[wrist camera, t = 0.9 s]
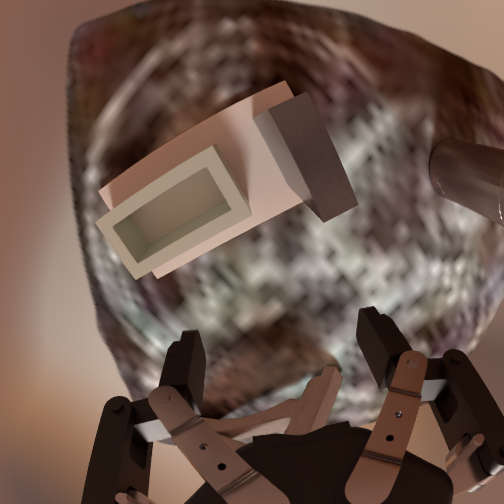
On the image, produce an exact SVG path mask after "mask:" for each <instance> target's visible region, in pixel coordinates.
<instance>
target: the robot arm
mask: <svg viewBox="0 0 504 504" xmlns="http://www.w3.org/2000/svg"><path fill="white" fill-rule="evenodd" d="M429 170H430V179H431V182H432V185H433V187H434V189H435V191H436V192H437V193H438V194H439V195H441V196H442V197H444V198H447V199H449V200H451V201H453V202H455V203H458V204H460V205H462V206H464V207H466V208H468V209H470V210H472V211H474V212H476V213H478V214H480V215H482V216H484V217H486V218H488V219H490V220H492V221H494V222H496V223H498V224H500V225H502V226H503V227H504V150H503V149H499V148H495V147H490V146H486V145H481V144H476V143H471V142H465V141H459V140H453V139H446V140H444V141H442V142H440V143H439V144H438V145H437V146H436V148H435V149H434V151H433V153H432V156H431V160H430V167H429ZM356 337H357V342H358V344H359V347H360V349H361V351H362V353H363V355H364V357H365V359H366V361H367V363H368V365H369V367H370V370H371V372H372V374H373V376H374V378H375V380H376V383H377V385H378V387H379V389H383V388H388V390H389V391H388V394H387V397H386V399H385V402H384V404H383V407H382V410H381V412H380V414H379V417H378V419H377V422H376V425H375V426H374V429H373V431H371V430H369V429H365V428H361V427H350V424H349V421H345V422H341V423H336V424H331V425H327V426H324V427H322V428H319V429H317V430H314V431H312V432H309V433H307V434H304V435H289V434H268V435H259V436H252V437H253V442H252V443H249V444H246V445H244V446H242V447H240V448H238V449H237V450H235V451H234V450H233V449H232V448H231V447H230V446H229V445H228V444H227V443H226V442H225V441H224V440H223V439H222V438H221V437H220V436H219V435H218V434H217V433H216V432H215V430H214V429H213V428H212V427H211V426H210V425H209V424H208V423H207V422H206V421H205V420H204V419H203V418H202V417H199V416H198V415H201V409H202V398H203V388H204V378H205V369H206V355H205V351H204V347H203V344H202V341H201V337H200V334H199V331H198V330H187V331H183V332H182V335H181V340H180V341H174V342H173V343H172V344H171V346H170V347H169V348H168V351H167V354H166V358H165V362H164V363H165V364H164V366H163V370H162V374H161V378H160V382H159V386H158V387H157V388H155V389H154V390H153V391H152V392H151V393H150V394H149V397H148V398H146V399H142V400H138V401H134V402H130V400H129V399H128V398H126V397H123V396H116V397H113V398H111V399H110V400H108V401H107V403H106V404H105V406H104V409H103V412H102V416H101V419H100V423H99V426H98V430H97V434H96V438H95V442H94V446H93V450H92V454H91V458H90V462H89V467H88V471H87V476H86V481H85V486H84V491H83V496H82V502H81V504H156V503H154V502H153V501H152V500H150V499H149V498H148V489H149V477H150V467H151V457H152V448H153V441H157V440H161V439H165V438H169V437H171V438H172V440H173V441H174V442H175V444H176V445H177V446H178V448H179V449H180V450H181V452H182V453H183V454H184V456H185V457H186V458H187V459H188V460H189V462H190V463H191V464H192V466H193V467H194V468H195V469H196V471H197V472H198V473H199V474H200V475H201V476H202V478H203V479H204V480H205V481H206V482H205V483H204V484H203V485H202V486H201V487H200V488H199V489H198V490H197V491H196V492H195V493H194V494H193V495H192V496H191V497H190V498H189V499H188V500H187V501H186V502H185V503H184V504H452V500H453V498H455V497H457V496H459V495H461V494H463V493H465V492H467V491H468V492H475V491H478V490H479V489H481V488H482V487H483V486H485V485H486V484H487V483H489V482H490V481H491V480H493V479H494V478H495V477H497V476H498V475H499V474H500V473H501V472H502V471H504V416H503V414H502V412H501V411H500V409H499V407H498V406H497V404H496V402H495V400H494V398H493V397H492V395H491V393H490V392H489V390H488V388H487V387H486V385H485V384H484V382H483V380H482V379H481V377H480V376H479V374H478V372H477V371H476V369H475V368H474V366H473V365H472V363H471V362H470V360H469V359H468V357H467V356H466V355H465V354H464V353H463V352H462V351H460V350H456V349H451V350H448V351H446V352H445V353H444V355H443V357H442V358H432V359H429V358H426V356H425V355H424V354H422V353H421V352H419V351H414V350H412V348H411V346H410V345H409V343H408V342H407V340H406V339H405V337H404V336H403V334H402V333H401V332H400V330H399V328H398V327H397V326H396V324H395V323H394V321H393V320H392V319H391V318H390V317H388V316H387V315H385V314H381V315H380V314H379V312H378V311H377V309H376V308H375V307H374V306H371V307H366V308H361V309H359V313H358V322H357V330H356ZM421 401H428V402H429V404H430V406H431V409H432V411H433V413H434V415H435V418H436V420H437V422H438V425H439V427H440V429H441V432H442V434H443V436H444V438H445V441H446V444H447V446H448V449H449V451H450V452H449V453H448V455H447V457H446V472H445V471H444V470H443V469H441V468H439V467H437V466H435V465H433V464H431V463H429V462H427V461H425V460H423V459H422V458H420V457H418V456H416V455H414V454H412V453H410V452H409V451H407V450H406V448H407V445H408V442H409V439H410V436H411V433H412V430H413V427H414V423H415V420H416V417H417V413H418V410H419V406H420V402H421Z"/></svg>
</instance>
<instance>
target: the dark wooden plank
mask: <svg viewBox="0 0 504 504" xmlns="http://www.w3.org/2000/svg"><path fill="white" fill-rule="evenodd" d="M253 121H254V122H255V124H256V126H257V128H258V130H259V131H260V133H261V135H262V137H263V139H264V141H265V142H266V144H267V146H268V148H269V150H270V152H271V154H272V155H273V157H274V159H275V161H276V163H277V165H278V167H279V169H280V171H281V173H282V175H283V177H284V179H285V181H286V182H287V184H288V186H289V187H290V188H291V189H292V190H293V191H294V192H295V193H296V194H297V195H298V196H299V197H300V198H301V199H302V200H303V201H304V203H305V204H306V205H307V206H308V207H309V208H310V209H311V210H312V211H313V212H314V213H315V214H316V215H317V216H318V217H319V218H320V219H321V220H322V221H323V222H326V221H328V220H330V219H332V218H334V217H336V216H338V215H340V214H342V213H344V212H346V211H348V210H349V209H351V208H353V207H355V206H357V205H358V202H357V200H356V197H355V194H354V192H353V189H352V187H351V184H350V182H349V180H348V177H347V175H346V172H345V170H344V168H343V165H342V163H341V161H340V158H339V156H338V154H337V152H336V149H335V147H334V145H333V143H332V141H331V138H330V136H329V134H328V132H327V130H326V128H325V126H324V124H323V122H322V120H321V118H320V116H319V114H318V112H317V110H316V108H315V106H314V104H313V102H312V100H311V98H310V96H309V94H308V92H305V93H302V94H300V95H298V96H296V97H293V98H291V99H289V100H287V101H284V102H282V103H280V104H278V105H276V106H274V107H271V108H269V109H267V110H266V111H264V112H262V113H261V114H259V115H258V116H256V117H255V118H253Z"/></svg>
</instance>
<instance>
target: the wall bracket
mask: <svg viewBox="0 0 504 504" xmlns="http://www.w3.org/2000/svg"><path fill="white" fill-rule="evenodd" d="M342 379H343V377H342V376H341V374H340V372H339V371H338V369H337V367H336V366H324V369H323V371H322V374H321V375H320V376H315V377H313V378H312V379H311V380H310V381H309V382H308V383H307V385H306V388H305V390H304V392H303V395H302V397H301V399H300V400H299V399H292V398H290V399H288V400H286V401H284V402H282V403H280V404H278V405H276V406H274V407H272V408H270V409H267V410H265V411H262V412H259V413H256V414H252V415H249V416H246V417H242V418H235V419H222V420H216V419H210V418H204V417H202V418H203V419H204V420H205V421H206V422H207V423H208V424H209V425H210V426H211V427H212V428H213V429H214V430H215V432H216V433H217V434H218V435H219V436H220V437H221V438H222V439H223V440H224V441H225V442H226V443H227V444H228V445H229V446H230V447H231V448H232V449H233V450H234V451H235V450H237V449H238V448H240V447H242V446H244V445H246V444H245V443H242V442H239V441H236V439H242V438H247V437H252V436H258V435H263V434H269V433H273V432H278V431H283V430H286V431H285V433H284V434H289V435H304V434H307V433H309V432H312V431H314V430H317V429H319V428H322V427H324V426H325V424H326V422H327V419H328V417H329V414H330V412H331V409H332V406H333V404H334V401H335V399H336V396H337V393H338V391H339V388H340V385H341V382H342Z"/></svg>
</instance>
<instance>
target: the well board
mask: <svg viewBox="0 0 504 504" xmlns="http://www.w3.org/2000/svg"><path fill="white" fill-rule="evenodd" d="M293 97H294V96H293V94H292V92H291V90H290V88H289V87H288V85H287V83H286V81H282V82H280V83H278V84H275V85H273V86H271V87H269V88H267V89H264V90H262V91H260V92H258V93H256V94H254V95H252V96H250V97H248V98H246V99H244V100H242V101H240V102H238V103H236V104H234V105H232V106H230V107H228V108H226V109H224V110H222V111H220V112H219V113H217V114H215V115H213V116H211V117H209V118H208V119H206V120H204V121H202V122H201V123H199V124H197V125H195V126H194V127H192V128H190V129H189V130H187V131H185V132H184V133H182V134H180V135H179V136H177V137H175V138H174V139H172V140H171V141H169V142H167V143H166V144H164V145H163V146H161V147H160V148H158V149H157V150H155V151H153V152H152V153H150V154H149V155H147V156H146V157H145V158H143V159H142V160H140V161H139V162H137V163H136V164H134V165H133V166H132V167H130V168H129V169H127V170H126V171H125V172H123V173H122V174H120V175H119V176H118V177H116V178H115V179H114V180H112V181H111V182H110V183H108V184H107V185H106V186H104V187H103V188H102V189H101V190H99V191H98V192H99V193H100V195H101V197H102V198H103V200H104V201H105V203H106V205H107V206H108V208H109V209H110V211H109V212H108V213H107V214H106V215H104V216H103V217H102V218H100V219H99V220H98V221H96V222H95V223H96V224H97V226H98V227H99V229H100V230H101V232H102V233H103V235H104V236H105V238H106V239H107V241H108V242H109V244H110V245H111V247H112V248H113V249H114V251H115V252H116V254H117V255H118V257H119V258H120V259H121V261H122V262H123V264H124V265H125V266H126V268H127V269H128V270H129V272H130V273H131V274H132V276H133V277H134V278H135V280H136V279H138V278H140V277H142V276H143V275H145V274H147V273H149V272H150V271H152V272H153V273H154V275H155V276H156V278H157V279H158V278H160V277H162V276H164V275H165V274H167V273H169V272H171V271H173V270H175V269H176V268H178V267H180V266H182V265H184V264H185V263H187V262H189V261H191V260H193V259H195V258H197V257H198V256H200V255H202V254H204V253H206V252H208V251H209V250H211V249H213V248H215V247H217V246H219V245H221V244H223V243H224V242H226V241H228V240H230V239H232V238H234V237H236V236H238V235H239V234H241V233H243V232H245V231H247V230H249V229H251V228H253V227H255V226H256V225H258V224H260V223H262V222H264V221H266V220H268V219H270V218H272V217H274V216H276V215H278V214H279V213H281V212H283V211H285V210H287V209H289V208H291V207H293V206H295V205H297V204H299V203H301V202H303V200H302V199H301V198H300V197H299V196H298V195H297V194H296V193H295V192H294V191H293V190H292V189H291V188H290V187H289V186H288V184H287V182H286V181H285V179H284V177H283V175H282V173H281V171H280V169H279V167H278V165H277V163H276V161H275V159H274V157H273V155H272V154H271V152H270V150H269V148H268V146H267V144H266V142H265V141H264V139H263V137H262V135H261V133H260V131H259V130H258V128H257V126H256V124H255V122H254V121H253V118H255V117H256V116H258V115H259V114H261V113H262V112H264V111H266V110H267V109H269V108H271V107H274V106H276V105H278V104H280V103H282V102H284V101H287V100H289V99H291V98H293Z"/></svg>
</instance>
